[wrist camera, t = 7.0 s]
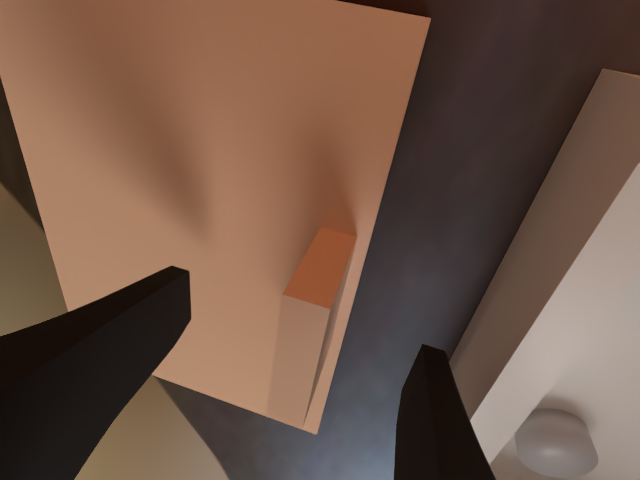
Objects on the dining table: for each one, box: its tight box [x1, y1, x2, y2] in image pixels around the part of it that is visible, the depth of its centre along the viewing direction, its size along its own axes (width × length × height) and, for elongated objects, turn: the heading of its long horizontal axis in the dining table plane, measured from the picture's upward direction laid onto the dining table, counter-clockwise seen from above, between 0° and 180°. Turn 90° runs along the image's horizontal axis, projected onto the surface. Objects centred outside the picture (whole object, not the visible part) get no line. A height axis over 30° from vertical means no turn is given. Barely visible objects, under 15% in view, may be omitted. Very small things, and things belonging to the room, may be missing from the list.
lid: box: [0, 0, 431, 435], centre depth 13 cm, size 17×13×5 cm
